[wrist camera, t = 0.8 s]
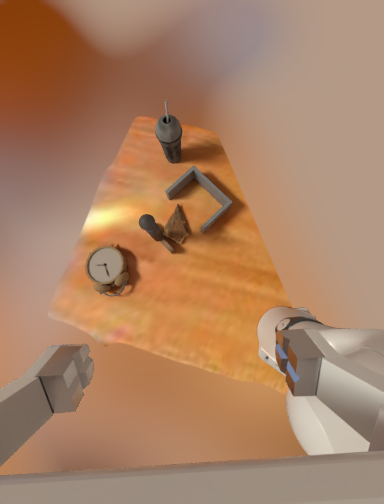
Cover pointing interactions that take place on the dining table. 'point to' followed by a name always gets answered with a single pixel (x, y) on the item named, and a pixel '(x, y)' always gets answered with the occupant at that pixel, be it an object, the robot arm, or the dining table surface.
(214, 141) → the dining table surface
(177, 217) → the shard
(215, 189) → the box
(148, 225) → the ball-topped joystick
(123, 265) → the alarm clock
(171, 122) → the beverage cup
